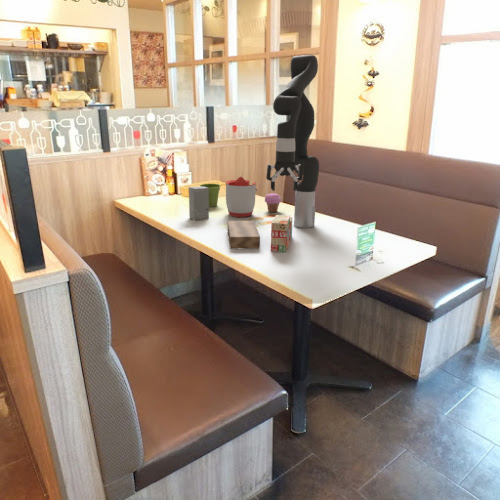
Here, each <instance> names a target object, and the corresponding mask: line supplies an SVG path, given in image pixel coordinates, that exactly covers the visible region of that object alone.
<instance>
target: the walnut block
mask: <svg viewBox="0 0 500 500" xmlns="http://www.w3.org/2000/svg"><path fill="white" fill-rule="evenodd" d="M226 224H227V225H226V226H227V227H226V228H227V230H226V231H228V232H227V236H228V237H229V238H228V242H229V243H228V244H229V248H230V249H231V250H233V249H234V250H237V249H238V248H244V249H260V247H261V246H260V245H261V236H260V234H259V230H258V228H257V225H256V223H255V220H227V223H226ZM238 250H239V249H238Z"/></svg>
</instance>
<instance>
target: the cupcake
mask: <svg viewBox="0 0 500 500" xmlns="http://www.w3.org/2000/svg"><path fill="white" fill-rule="evenodd" d="M264 202H265V203H266V206H267V211H268V212H269V213H277V212H278V209H279V205H280V204H281V202H282V199H281V196H280V195H279V194H278V193H275V192H274V193H267V194H266V195H265V197H264Z"/></svg>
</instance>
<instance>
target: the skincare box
mask: <svg viewBox="0 0 500 500" xmlns="http://www.w3.org/2000/svg"><path fill="white" fill-rule="evenodd" d="M188 205H189V206H188V208H189V214H188V215H189V218H190V219H191V220H193V221H201V220H206V219H207V220H208V219H210V209H209V188H207V187H204V186H200V185H199V186H189V187H188Z"/></svg>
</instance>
